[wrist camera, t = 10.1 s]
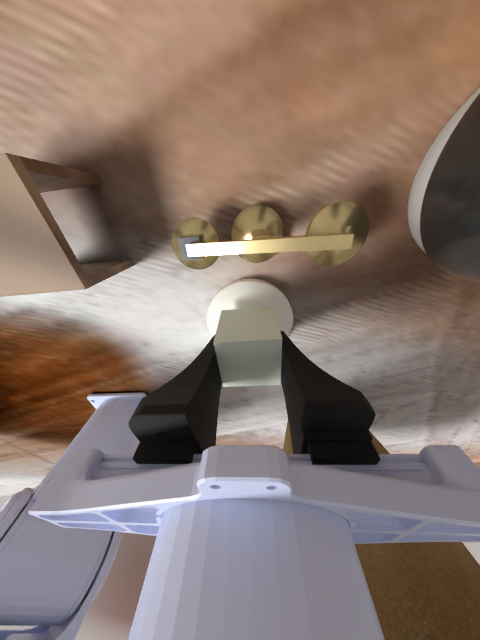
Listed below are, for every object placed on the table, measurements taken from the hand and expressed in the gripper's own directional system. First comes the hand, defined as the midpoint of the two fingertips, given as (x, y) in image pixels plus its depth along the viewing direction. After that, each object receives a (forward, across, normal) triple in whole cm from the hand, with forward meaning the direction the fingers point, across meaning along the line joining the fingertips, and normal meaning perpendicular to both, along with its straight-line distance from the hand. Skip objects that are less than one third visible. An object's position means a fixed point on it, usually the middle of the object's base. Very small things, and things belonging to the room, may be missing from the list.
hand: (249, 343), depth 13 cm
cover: (+4, +12, -8) cm, 15 cm away
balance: (+4, -1, -7) cm, 8 cm away
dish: (+4, 0, 0) cm, 4 cm away
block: (+2, 0, 0) cm, 2 cm away
